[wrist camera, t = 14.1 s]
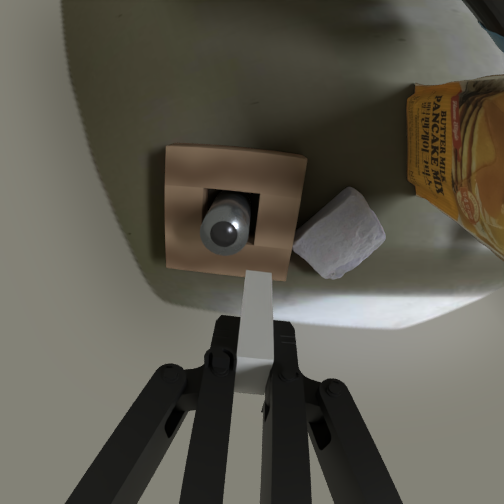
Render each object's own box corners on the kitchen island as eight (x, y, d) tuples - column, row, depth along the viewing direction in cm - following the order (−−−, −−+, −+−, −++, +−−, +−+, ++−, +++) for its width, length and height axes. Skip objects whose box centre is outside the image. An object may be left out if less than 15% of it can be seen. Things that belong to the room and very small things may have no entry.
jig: (176, 142, 32) (166, 145, 29) (302, 154, 33) (307, 159, 29) (174, 253, 40) (166, 267, 36) (283, 266, 40) (285, 281, 36)
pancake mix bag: (438, 79, 26) (605, 91, 1) (437, 203, 34) (570, 315, 9) (399, 71, 26) (581, 58, 1) (402, 204, 35) (540, 335, 10)
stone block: (381, 222, 38) (347, 177, 34) (396, 240, 34) (362, 192, 30) (322, 269, 43) (281, 233, 38) (331, 290, 39) (288, 254, 34)
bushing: (214, 186, 35) (200, 208, 27) (253, 190, 35) (250, 214, 27) (212, 222, 37) (198, 253, 29) (249, 226, 37) (245, 258, 29)
